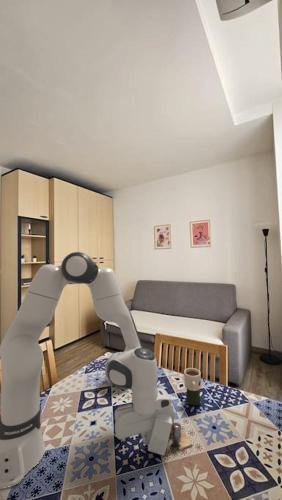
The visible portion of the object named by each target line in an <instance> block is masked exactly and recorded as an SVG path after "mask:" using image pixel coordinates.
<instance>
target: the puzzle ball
mask: <svg viewBox="0 0 282 500" xmlns="http://www.w3.org/2000/svg"><path fill="white" fill-rule="evenodd" d="M122 352H123V351H120V352H119V351H117V352H114V353H113V354H111V356H110V357H109V358H107V360H106V363H105V365H104V373H105V378H106V379H107V381H108V383H110V384H111V382H110V381H109V379H108V376H107V366H108V363H109V362H110V361H111V360H112V359H114V358H115V357H116V356H118V355H119V354H121V353H122Z"/></svg>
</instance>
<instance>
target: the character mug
mask: <svg viewBox="0 0 282 500" xmlns="http://www.w3.org/2000/svg"><path fill="white" fill-rule="evenodd" d="M201 376H202V374H201V371H200V370H199V369H197V368H194V367H188V368H185V369H184V371H183V379H184V381H183V384H184V387H185V389H186V393H185V401H186V403H187V404H189V405H190V406H199V405H201V403H202V401H201V393H200V389H201V388H202V377H201Z"/></svg>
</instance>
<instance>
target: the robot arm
mask: <svg viewBox="0 0 282 500" xmlns="http://www.w3.org/2000/svg"><path fill="white" fill-rule="evenodd" d="M67 285H87V287H88V288H89V292H90V295H91V299H92V304H93V309H94V312H95V313H96V316H97V317H98V318H100V319H101V320H102V321H105V322H107V323H108V322H109V323H114V324H116V325H117V326H118V327H119V329H120V332H121V335H122V338H123V341H124V344H125V349H124V351H121V352H122V353H121V354H119V355H118V356H116V357H115V358H114V359H112V360H111V361H110V362H109V363H108V366H107V376H108V379H109V381H110V382H111V383H110V382H109V381H108V382H109V383H110V384H112V386H114V387H117V388H120V389H124V390H130V389H131V402H130V403H127V404H124V405H120V406H118V408H116V409H115V411H114V420H115V423H114V432H115V435H116V438H117V439H118V440H123V439H126V438H130V437H132V436H133V437H134V436H136V435H139V434H140V436H141V440H142V443H143V445H146V444H147V445H148V443H149V442H148V438H149V436H150V434H151V430H152V428H153V424H154V420H155V416H156V414H169V415H171V417H172V423H173V422H174V421H175V411H174V406H173V405H172V404H173V399H172V398H171V396H170V395H169V393H168V392H167V391H166V390H165V388H162V387H158V385H157V382H158V377H159V376H158V372H159V371H158V362H157V357H156V355H155V353H154V352H153V351H152V350H151V349H148V348H145V347H144V345H143V342H142V340H141V338H140V335H139V332H138V330H137V325H136V324H135V319H134V317H133V315H132V312H131V310H130V309H129V308H128V306H127V305H126V302H125V300H124V296H123V294H122V293H123V292H122V288H121V286H120V283H119V279H118V277H117V274H116V272H115V271H114V270H113V269H112V268H111V267H99V265H97V264H96V263H95V261H94V260H92V258H91V257H90V256H89V255H87V253H84V252H80V251H74V252H71V253H69V254H67V255H66V256H65V257H64V258H63V260H62V262H61V264H60V265H55V264H53V263H52V264H51V263H49V264H48V263H47V264H43V265H42V266H40V268H39V269H37V272H36V273H35V275H34V276H33V278H32V280H31V282H30V283H29V286H28V287H27V290H26V292H25V294H24V297H23V299H22V301H21V304H20V307H19V309H18V311H17V313H16V315H15V317H14V319H13V321H11V322H12V323H11V324H10V326H9V327H8V329H7V331H6V333H5V335H4V337H3V338H2V341H1V344H0V363H1V388H0V490H1V488H3V489H5V488H4V487H8V486H13V485H16V484H18V483H19V482H20V481H21V480H22V479H23V480H24V478H25V477H26V476H27V475H28V474H27V472H28V471H30V470H31V469H32V468H33V467H35V466H36V465H37V464H38V465H39V464H40V462H41V461H42V460H41V459H43V458H44V456H45V454H44V453H46V450H45V448H46V447H45V446H46V443H45V441H44V437H43V433H42V423H43V418H42V417H43V415H42V413H43V412H42V407H41V405H42V404H41V403H40V401H41V400H40V397H41V396H40V384H41V376H42V375H41V374H42V371H43V370H42V369H43V364H44V353H43V350H42V347H41V346H40V344H39V342H40V341H39V340H40V337H41V336H42V334H43V332H44V331H45V329H46V328H47V326H48V325H49V324H50V323H51V322H52V319H53V317H54V315H55V311H56V309H57V306H58V304H59V301H60V298H61V297H62V296H61V295H62V294H63V291H64V289H65V288H66V286H67ZM108 379H107V380H108ZM174 423H175V422H174ZM46 449H47V448H46ZM43 455H44V456H43ZM42 457H43V458H42ZM40 460H41V461H40ZM39 461H40V462H39ZM38 465H37V466H38ZM37 466H36V467H37ZM36 467H35V468H36ZM32 470H33V469H32ZM32 470H31V471H32ZM31 471H30V472H31ZM26 474H27V475H26ZM25 475H26V476H25ZM24 476H25V477H24ZM12 480H13V481H12ZM23 480H22V481H23ZM22 481H21V482H22ZM21 482H20V483H21ZM20 483H19V484H20ZM19 484H18V485H19Z"/></svg>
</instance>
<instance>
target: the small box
mask: <svg viewBox="0 0 282 500" xmlns="http://www.w3.org/2000/svg"><path fill="white" fill-rule="evenodd" d="M171 427H172V417H171V415H169V414H156V416H155V420H154V424H153V428H152V430H151V434H150V436H149V438H148V442H149V443H147V451H148V452H151V453H154V454H158V455H160V456H163V457H164V456H165V454H166V451H167V450H166V449H167V447H168V443H169V440H170V439H169V438H170V436H169V435H170V431H171Z"/></svg>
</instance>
